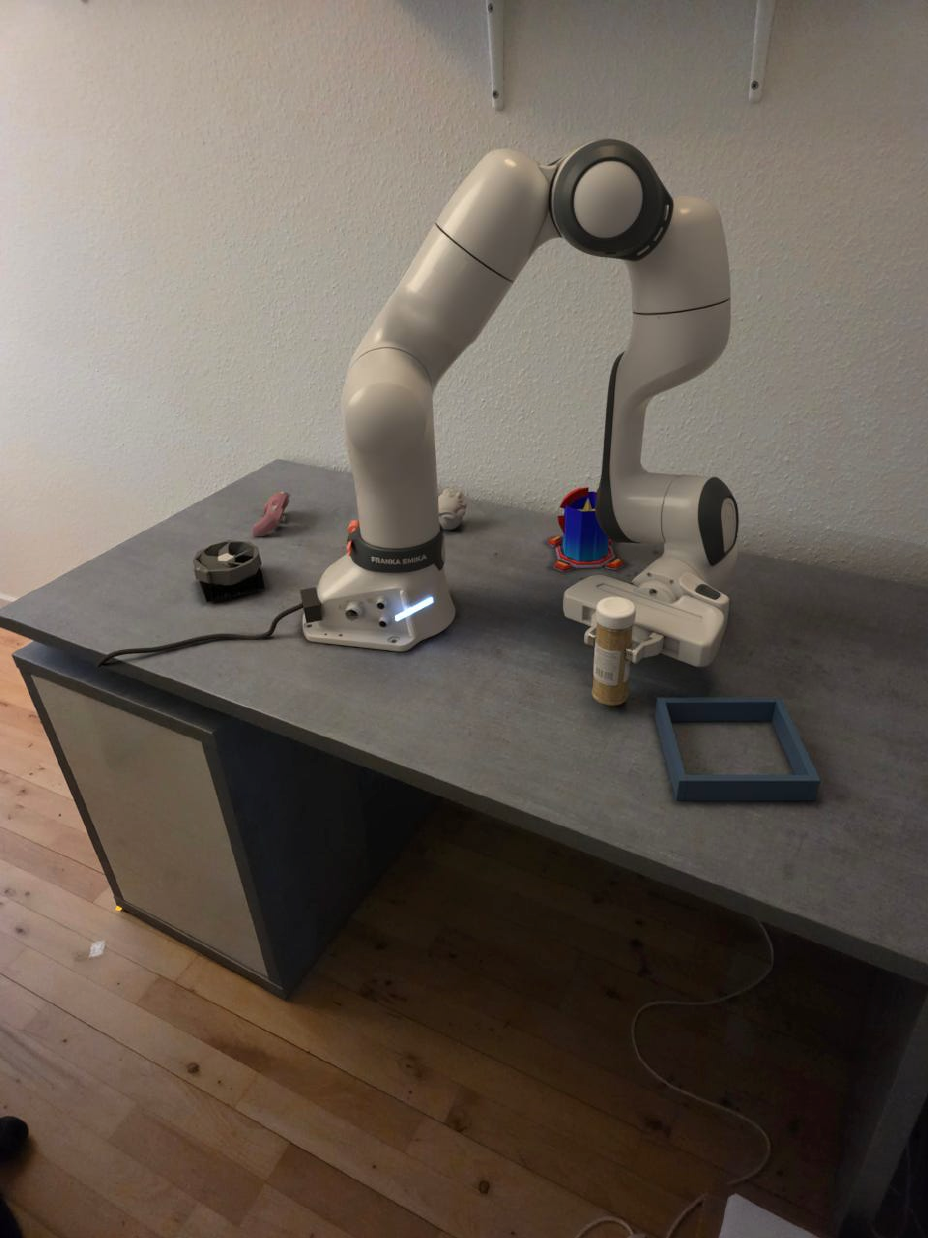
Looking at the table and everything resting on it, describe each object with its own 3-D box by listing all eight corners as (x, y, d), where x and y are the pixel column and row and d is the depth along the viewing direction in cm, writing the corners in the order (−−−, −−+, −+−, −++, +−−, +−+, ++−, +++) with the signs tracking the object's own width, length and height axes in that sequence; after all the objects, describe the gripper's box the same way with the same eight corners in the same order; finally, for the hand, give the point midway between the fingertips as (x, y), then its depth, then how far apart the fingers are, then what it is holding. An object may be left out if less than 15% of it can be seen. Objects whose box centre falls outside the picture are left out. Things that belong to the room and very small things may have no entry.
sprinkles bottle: (635, 697, 98) (644, 607, 91) (608, 712, 96) (615, 620, 89) (610, 679, 101) (617, 590, 94) (583, 693, 99) (588, 603, 92)
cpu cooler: (251, 533, 129) (265, 561, 121) (257, 564, 132) (271, 592, 124) (186, 547, 125) (196, 577, 118) (194, 578, 128) (204, 609, 121)
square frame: (675, 800, 86) (679, 780, 84) (654, 716, 97) (656, 697, 95) (814, 800, 85) (820, 780, 83) (776, 716, 96) (781, 697, 95)
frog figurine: (475, 525, 141) (474, 489, 137) (449, 540, 137) (447, 503, 133) (449, 516, 144) (448, 480, 141) (423, 530, 140) (421, 494, 136)
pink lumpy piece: (274, 545, 140) (286, 513, 137) (249, 535, 139) (261, 502, 136) (285, 520, 149) (297, 489, 145) (262, 510, 147) (273, 479, 144)
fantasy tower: (613, 535, 136) (619, 470, 129) (627, 570, 126) (633, 501, 120) (545, 538, 136) (547, 473, 129) (553, 573, 126) (555, 504, 120)
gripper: (595, 554, 106) (537, 599, 98) (742, 601, 96) (692, 657, 87) (593, 593, 110) (537, 640, 101) (734, 643, 99) (685, 701, 90)
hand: (609, 648), depth 94 cm, fingers closed on sprinkles bottle, 4 cm apart
